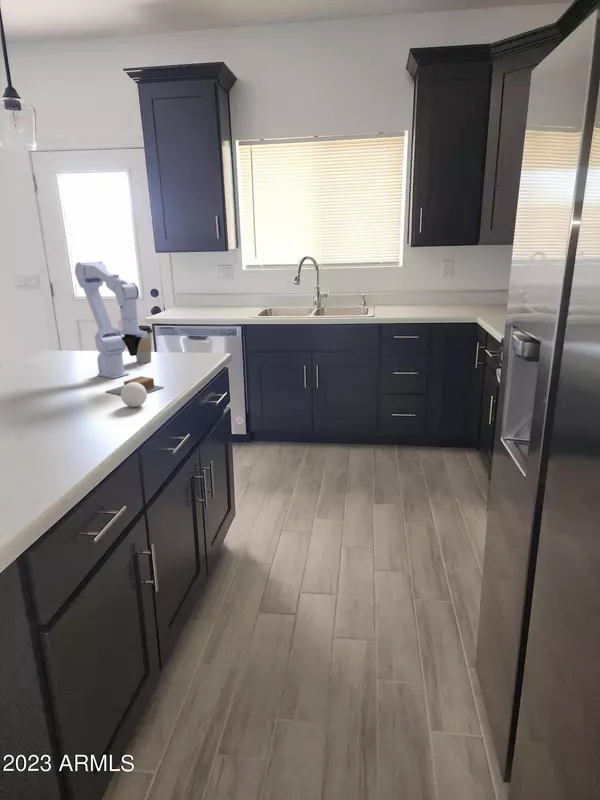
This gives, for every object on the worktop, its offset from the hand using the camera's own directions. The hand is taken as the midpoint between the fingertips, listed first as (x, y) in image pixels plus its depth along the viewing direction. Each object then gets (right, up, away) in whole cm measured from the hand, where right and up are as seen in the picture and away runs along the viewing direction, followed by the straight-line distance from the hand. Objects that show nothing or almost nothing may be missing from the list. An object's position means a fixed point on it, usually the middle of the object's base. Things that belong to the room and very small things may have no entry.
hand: (133, 355), depth 191 cm
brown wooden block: (+2, -11, -5) cm, 12 cm away
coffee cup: (-6, 0, +34) cm, 35 cm away
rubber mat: (+2, -13, -6) cm, 14 cm away
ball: (+8, -19, -23) cm, 31 cm away
